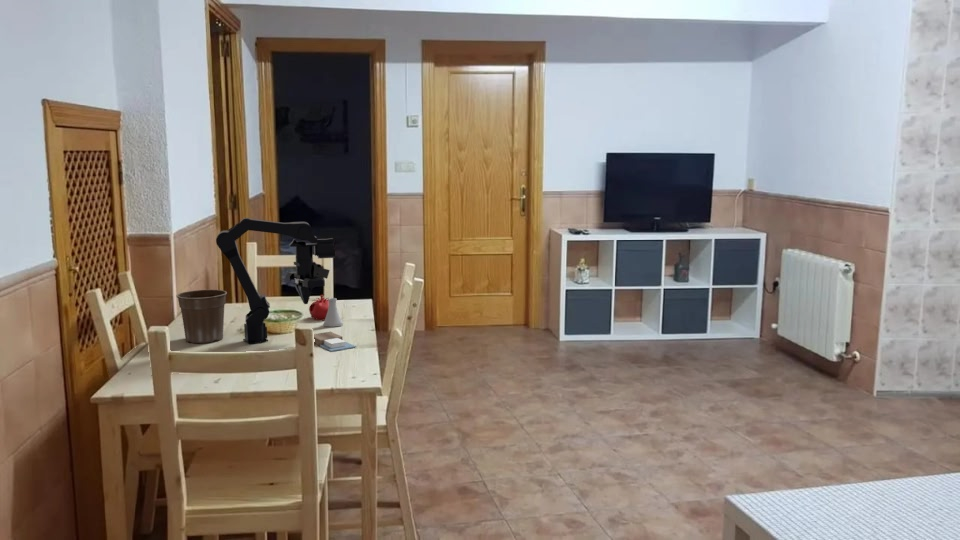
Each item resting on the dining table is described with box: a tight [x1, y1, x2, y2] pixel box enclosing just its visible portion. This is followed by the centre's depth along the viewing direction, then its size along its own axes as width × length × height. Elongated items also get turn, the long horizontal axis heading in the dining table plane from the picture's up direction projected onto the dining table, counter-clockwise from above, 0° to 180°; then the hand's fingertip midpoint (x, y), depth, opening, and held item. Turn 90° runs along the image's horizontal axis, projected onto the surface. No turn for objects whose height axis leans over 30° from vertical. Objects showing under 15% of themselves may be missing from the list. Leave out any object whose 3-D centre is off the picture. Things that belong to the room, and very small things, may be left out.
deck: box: [313, 331, 343, 346], centre depth 258 cm, size 8×9×2 cm
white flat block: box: [324, 338, 347, 348], centre depth 252 cm, size 5×6×2 cm
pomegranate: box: [308, 294, 330, 321], centre depth 293 cm, size 10×10×9 cm
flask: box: [322, 297, 344, 328], centre depth 282 cm, size 7×7×10 cm
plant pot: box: [176, 289, 228, 344], centre depth 260 cm, size 16×16×16 cm
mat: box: [319, 341, 357, 353], centre depth 252 cm, size 9×8×1 cm
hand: (305, 303), depth 262 cm, fingers closed
